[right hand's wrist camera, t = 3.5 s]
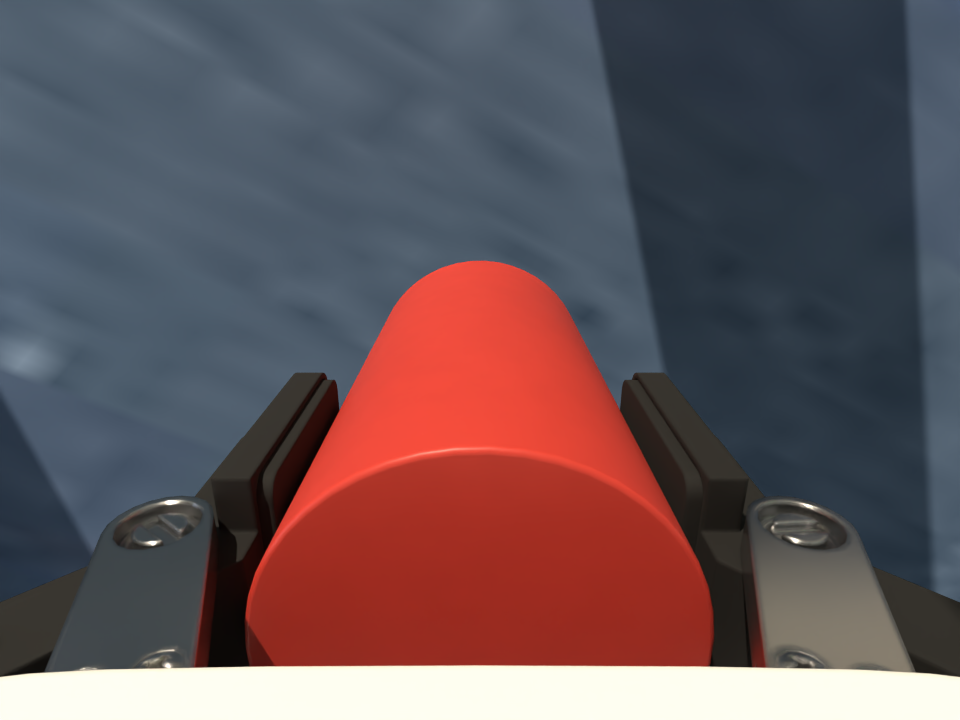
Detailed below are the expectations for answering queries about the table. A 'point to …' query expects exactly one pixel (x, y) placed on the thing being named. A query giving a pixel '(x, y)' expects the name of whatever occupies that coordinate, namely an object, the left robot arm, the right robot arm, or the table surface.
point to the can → (479, 504)
